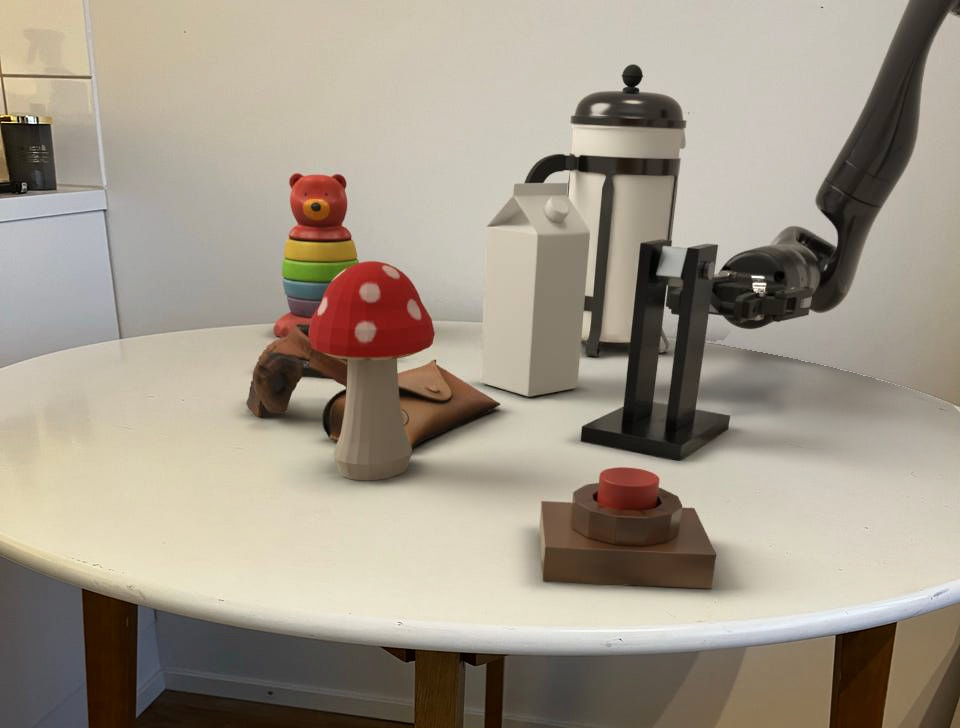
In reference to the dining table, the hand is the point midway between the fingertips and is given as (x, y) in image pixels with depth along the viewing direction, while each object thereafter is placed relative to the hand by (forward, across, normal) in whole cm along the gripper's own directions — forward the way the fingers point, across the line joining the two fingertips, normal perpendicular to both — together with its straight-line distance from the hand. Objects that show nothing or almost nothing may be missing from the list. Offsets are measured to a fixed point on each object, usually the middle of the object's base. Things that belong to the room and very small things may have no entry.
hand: (706, 306), depth 91 cm
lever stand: (+9, 0, +10) cm, 13 cm away
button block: (+37, +9, +10) cm, 39 cm away
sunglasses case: (+19, -18, +10) cm, 28 cm away
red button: (+37, +9, +6) cm, 38 cm away
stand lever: (+4, 0, -1) cm, 4 cm away
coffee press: (-23, -21, +10) cm, 33 cm away
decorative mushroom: (+32, -14, +10) cm, 36 cm away
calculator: (+6, -40, +10) cm, 41 cm away
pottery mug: (+23, -29, +10) cm, 38 cm away
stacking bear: (-8, -51, +10) cm, 53 cm away
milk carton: (0, -18, +10) cm, 20 cm away
